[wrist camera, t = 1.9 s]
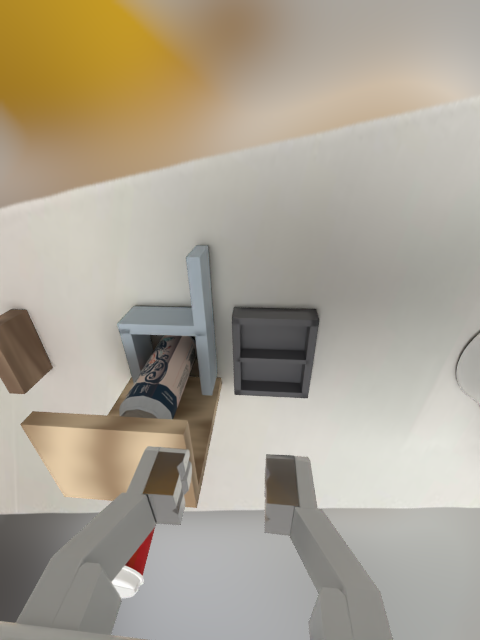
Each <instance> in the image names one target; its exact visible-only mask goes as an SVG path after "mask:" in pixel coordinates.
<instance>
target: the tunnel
mask: <svg viewBox="0 0 480 640" xmlns="http://www.w3.org/2000/svg"><path fill="white" fill-rule="evenodd" d="M133 384H134V383H133V379H132V377H131V379H130V381H129V382H128V384H127V385H126V387H125V389H124V390H123V392H122V393H121V395H120V396H119V398H118V400H117V401H116V403H115V404H114V406H113V407H112V409H111V411H110V412H109V414H108V415H107V416H104V415H86V414H69V413H52V412H34V411H33V412H32V413H31V414H30V415H29V416H28V417H27V418H26V419H25V420H24V421H23V422H22V423H21V424H20V425H21V426H22V428H23V430H24V431H25V433H26V434H27V436H28V438H29V439H30V441H31V443H32V444H33V446H34V448H35V449H36V451H37V452H38V454H39V456H40V457H41V459H42V461H43V462H44V464H45V466H46V467H47V469H48V470H49V472H50V474H51V475H52V477H53V479H54V480H55V482H56V484H57V485H58V487H59V488H60V490H61V492H62V493H63V495H64V497H74V498H86V499H98V500H110V501H113V500H115V499H116V498H117V497H118V496H119V495H120V494H121V493H126V492H127V490H128V487H129V485H130V483H131V480H132V478H133V476H134V473H135V471H136V469H137V466H138V464H139V462H140V459H141V457H142V455H143V453H144V451H145V449H146V448H147V447H148V446H152V447H164V448H177V449H189V453H190V457H189V461H190V462H191V464H192V476H191V483H190V487H189V491H188V492H187V493H186V494H185V495H184V498H185V503H186V504H185V507H194V508H197V504H198V499H199V494H200V490H201V485H202V480H203V475H204V470H205V465H206V460H207V455H208V450H209V445H210V440H211V435H212V430H213V425H214V420H215V415H216V410H217V406H218V401H219V396H220V391H221V386H222V382H221V378H216V381H215V385H214V390H213V394H212V395H202V391H201V382H200V377H190V376H189V377H188V380H187V383H186V386H185V388H184V391H183V394H182V397H181V399H180V402H179V405H178V407H177V410H176V413H175V416H174V418H173V419H156V418H139V417H121V416H120V411H119V409H120V405H121V404H122V402H123V401H124V399H125V398H126V396H127V394H128V393H129V391H130V389H131V388H132V386H133Z"/></svg>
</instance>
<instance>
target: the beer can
mask: <svg viewBox="0 0 480 640" xmlns="http://www.w3.org/2000/svg"><path fill="white" fill-rule="evenodd" d="M196 355H197V347H196V343H195V341H194V340H193V339H192V338H191V337H190V336H175V335H164V336H162V338H161V339H160V341H159V343H158V345H157V346H156V348H155V350H154V351H153V353H152V355H151V356H150V358H149V359H148V361H147V363H146V364H145V366H144V368H143V369H142V371H141V373H140V374H139V376H138V378H137V379H136V381H135V383H134V384H133V386H132V388H131V389H130V391H129V393H128V394H127V396H126V398H125V399H124V401H123V402H122V404H121V405H120V409H119V411H120V416H121V417H139V418H156V419H173V418H174V416H175V413H176V410H177V407H178V405H179V402H180V399H181V397H182V394H183V391H184V388H185V386H186V383H187V380H188V377H189V375H190V372H191V369H192V366H193V364H194V361H195V358H196Z"/></svg>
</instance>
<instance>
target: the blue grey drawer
mask: <svg viewBox="0 0 480 640" xmlns="http://www.w3.org/2000/svg"><path fill="white" fill-rule="evenodd" d="M186 261H187V270H188V278H189V287H190V296H191V304H192V308H186V307H144V306H133V308H132V309H131V310H130V311H129V312H128V313H127V314H126V315H125V316H124V317H123V318H122V319H121V320H120V321H119V322H118V323H117V325H118V329H119V332H120V336H121V339H122V343H123V347H124V350H125V354H126V357H127V361H128V365H129V368H130V372H131V375H132V379H133V383H135V381H136V379H137V378H138V376H139V374H140V373H141V371H142V369H143V368H144V366H145V364H146V363H147V361H148V359H149V358H150V356H151V355H152V353H153V347H152V343H151V338H150V335H175V336H195V339H196V347H197V356H198V365H199V373H200V382H201V391H202V395H212V394H213V390H214V385H215V381H216V377H217V360H216V347H215V333H214V319H213V306H212V292H211V279H210V265H209V251H208V246H195V247H194V249H193V250H192V251H191V252H190V253H189V254H188V256H187V257H186Z"/></svg>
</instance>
